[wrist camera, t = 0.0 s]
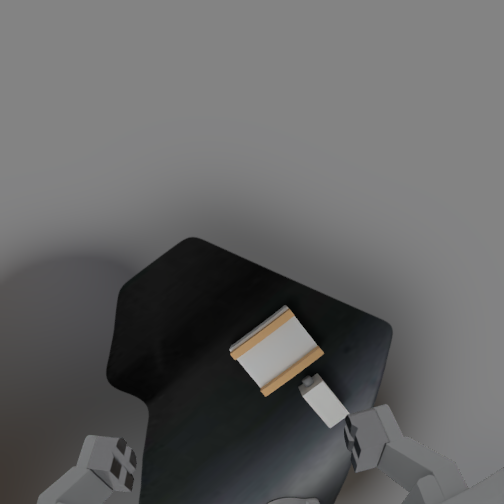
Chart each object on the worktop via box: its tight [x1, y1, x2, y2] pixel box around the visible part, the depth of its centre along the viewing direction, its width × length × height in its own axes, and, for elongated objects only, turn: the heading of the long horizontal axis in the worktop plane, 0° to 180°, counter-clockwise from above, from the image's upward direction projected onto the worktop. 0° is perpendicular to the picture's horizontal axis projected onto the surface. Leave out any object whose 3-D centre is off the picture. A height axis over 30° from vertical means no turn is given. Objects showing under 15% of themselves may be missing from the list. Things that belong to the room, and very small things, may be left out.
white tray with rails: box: [229, 305, 324, 397], centre depth 60 cm, size 12×14×6 cm
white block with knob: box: [299, 373, 349, 428], centre depth 59 cm, size 12×5×6 cm, turn 37°
